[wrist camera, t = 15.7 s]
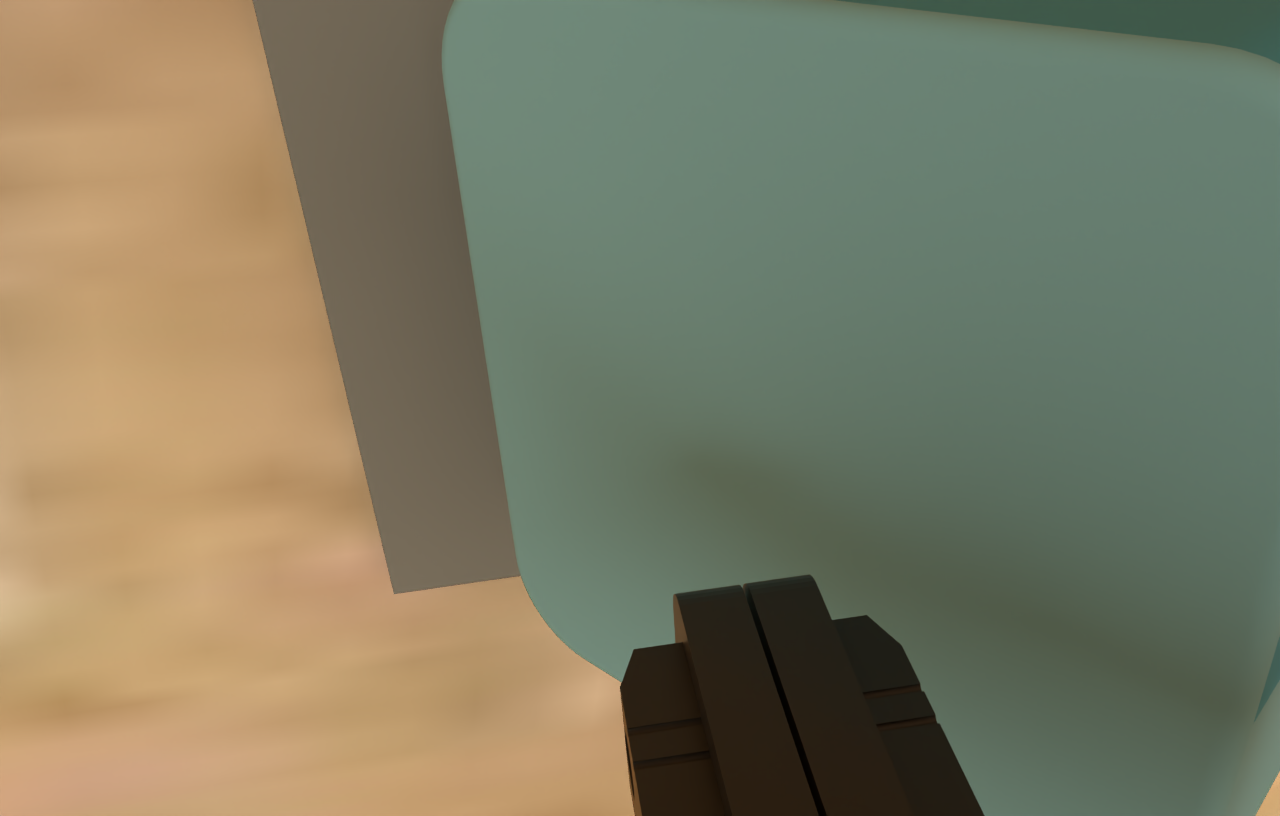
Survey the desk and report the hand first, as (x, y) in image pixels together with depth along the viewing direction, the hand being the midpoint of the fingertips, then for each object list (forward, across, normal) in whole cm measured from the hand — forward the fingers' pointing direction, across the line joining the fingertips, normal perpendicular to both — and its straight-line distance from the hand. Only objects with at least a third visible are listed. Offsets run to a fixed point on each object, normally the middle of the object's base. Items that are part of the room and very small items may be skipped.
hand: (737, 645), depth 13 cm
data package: (+9, +1, 0) cm, 9 cm away
